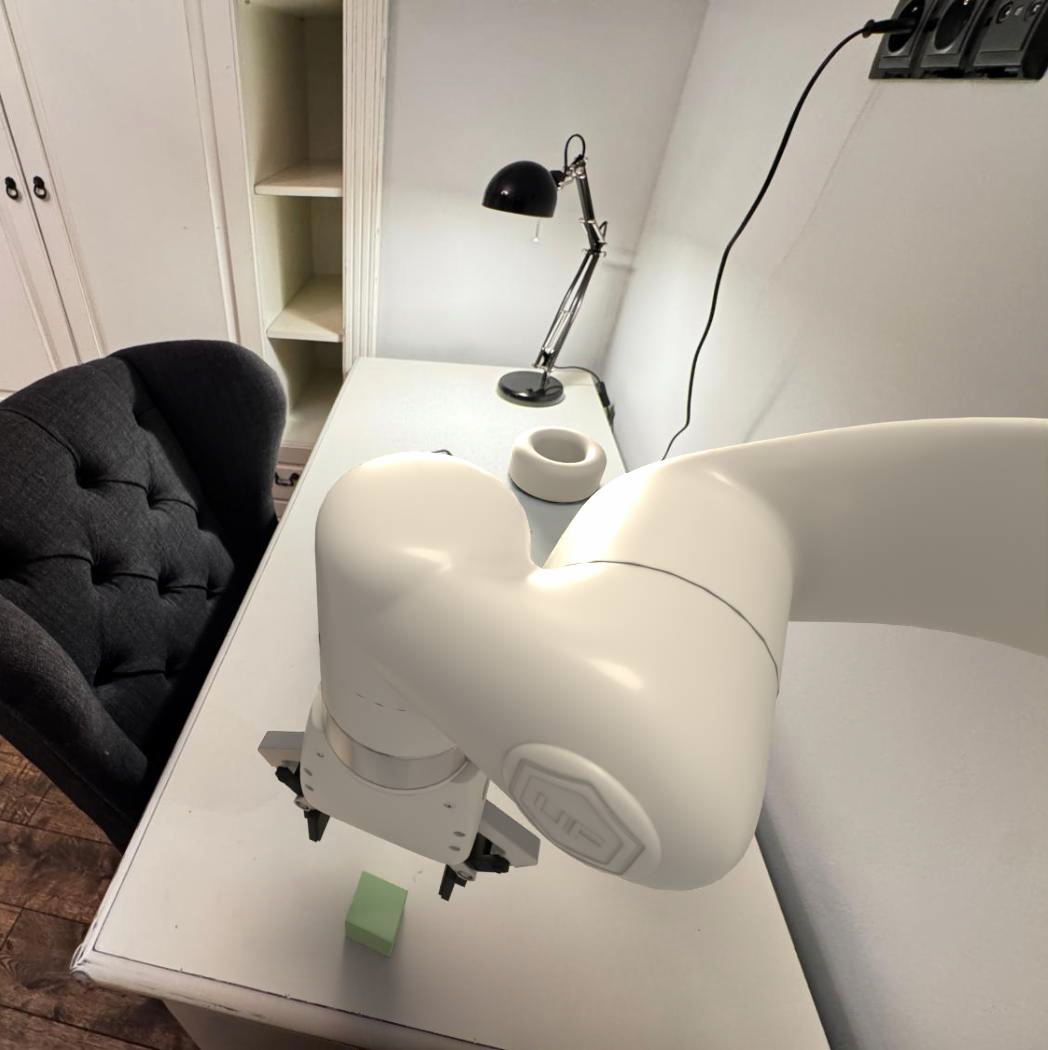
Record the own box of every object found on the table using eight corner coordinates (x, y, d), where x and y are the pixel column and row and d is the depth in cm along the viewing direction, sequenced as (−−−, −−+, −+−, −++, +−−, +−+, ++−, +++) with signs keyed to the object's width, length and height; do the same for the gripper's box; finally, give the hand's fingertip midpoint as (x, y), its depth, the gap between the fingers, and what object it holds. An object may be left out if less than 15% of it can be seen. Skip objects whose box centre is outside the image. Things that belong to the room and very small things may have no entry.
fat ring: (513, 448, 105) (520, 416, 101) (598, 464, 101) (609, 431, 97) (501, 494, 94) (509, 461, 90) (596, 514, 90) (609, 480, 86)
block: (405, 905, 49) (408, 889, 47) (390, 958, 46) (392, 944, 44) (362, 886, 50) (363, 869, 48) (344, 935, 48) (344, 921, 45)
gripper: (599, 698, 27) (524, 843, 38) (274, 595, 32) (292, 750, 43) (587, 858, 22) (503, 972, 33) (200, 705, 27) (242, 849, 38)
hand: (384, 846), depth 38 cm, fingers open, 8 cm apart
